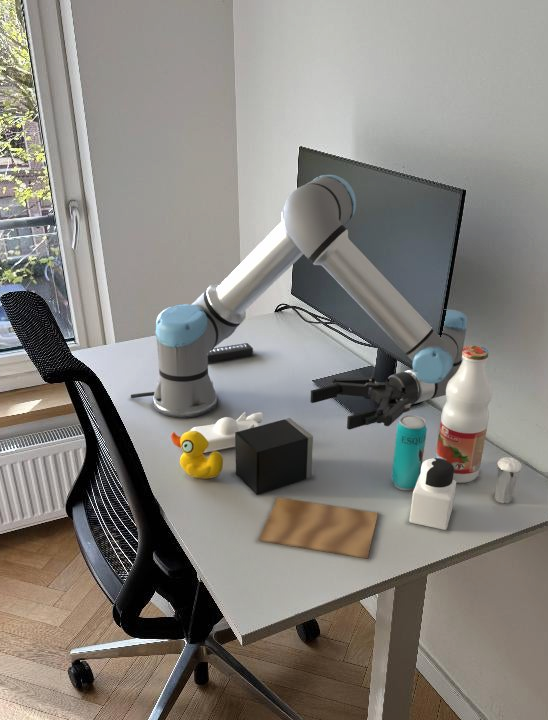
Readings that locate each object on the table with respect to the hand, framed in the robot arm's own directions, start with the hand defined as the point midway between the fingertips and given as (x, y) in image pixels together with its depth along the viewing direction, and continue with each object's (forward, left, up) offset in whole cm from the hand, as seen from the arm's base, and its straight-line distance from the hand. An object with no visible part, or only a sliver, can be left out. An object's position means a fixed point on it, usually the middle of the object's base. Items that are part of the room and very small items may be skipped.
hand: (329, 409), depth 157 cm
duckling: (-24, -13, -12) cm, 30 cm away
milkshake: (+38, -5, -12) cm, 40 cm away
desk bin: (-9, -9, -12) cm, 18 cm away
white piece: (-23, +2, -12) cm, 27 cm away
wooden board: (+4, -24, -12) cm, 27 cm away
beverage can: (+18, -5, -12) cm, 22 cm away
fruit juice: (+28, +3, -12) cm, 30 cm away
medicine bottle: (+24, -15, -12) cm, 31 cm away
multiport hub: (-37, +47, -12) cm, 61 cm away
